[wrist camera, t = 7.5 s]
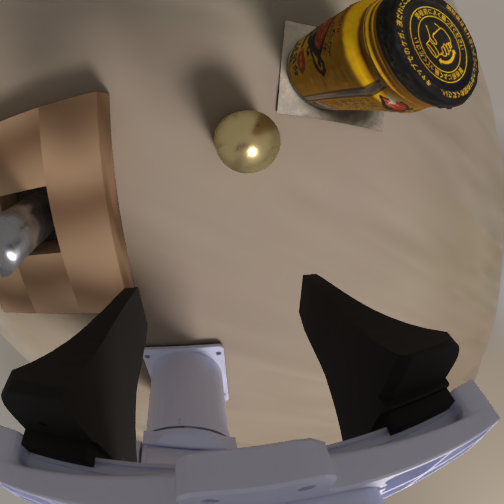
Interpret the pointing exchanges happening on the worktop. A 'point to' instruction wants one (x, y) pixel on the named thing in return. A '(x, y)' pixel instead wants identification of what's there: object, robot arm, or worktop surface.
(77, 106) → the hole block
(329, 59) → the condiment
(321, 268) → the worktop surface
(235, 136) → the short stub
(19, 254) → the grey cylinder
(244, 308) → the worktop surface
